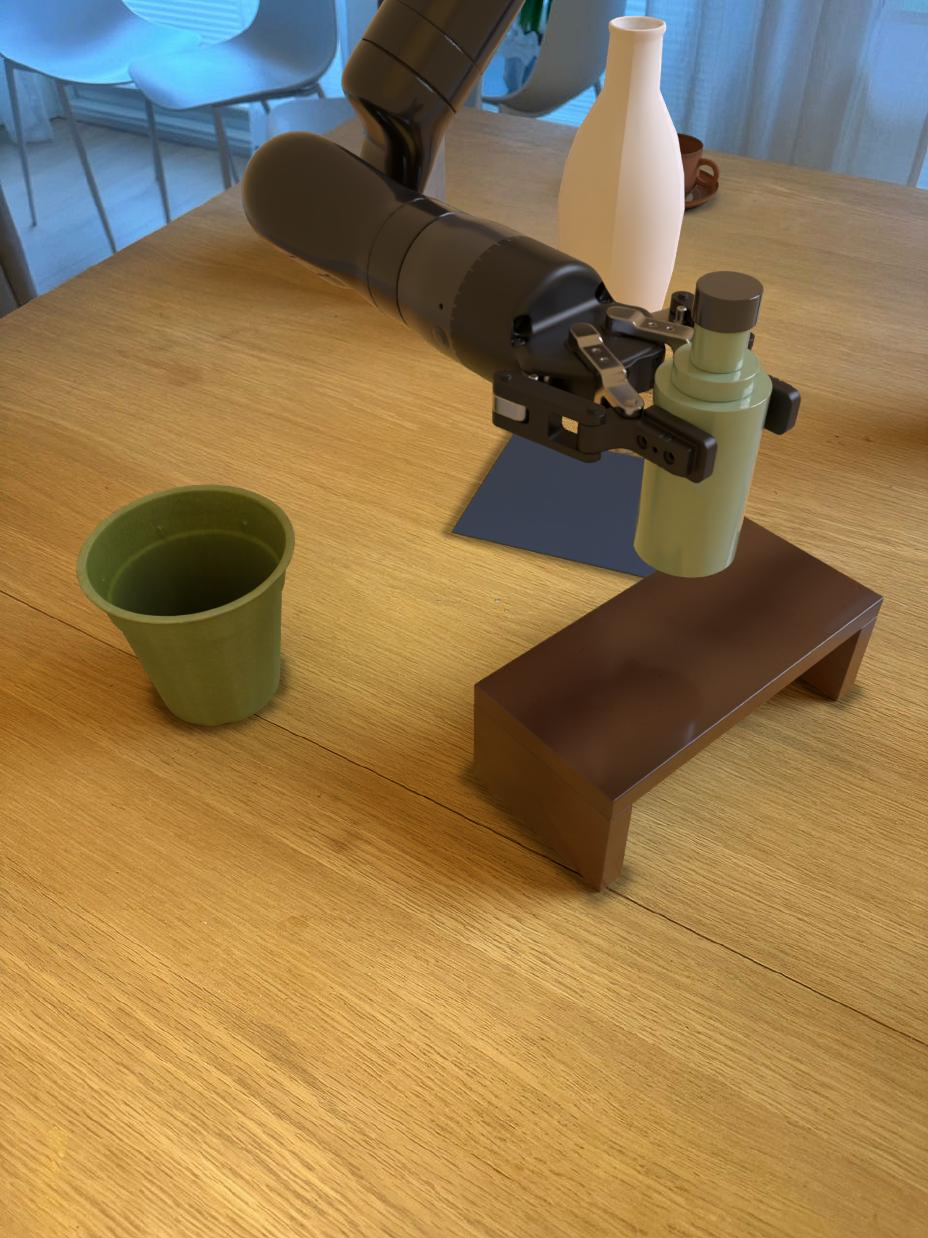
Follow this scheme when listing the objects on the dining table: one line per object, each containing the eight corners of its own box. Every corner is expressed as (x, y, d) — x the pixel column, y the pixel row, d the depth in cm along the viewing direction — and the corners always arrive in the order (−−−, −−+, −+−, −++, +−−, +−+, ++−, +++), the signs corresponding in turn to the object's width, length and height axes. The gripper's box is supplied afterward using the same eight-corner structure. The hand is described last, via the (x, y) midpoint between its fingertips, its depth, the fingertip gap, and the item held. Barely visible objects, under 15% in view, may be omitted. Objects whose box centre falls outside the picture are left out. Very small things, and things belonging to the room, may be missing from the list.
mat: (709, 476, 82) (710, 471, 81) (668, 588, 72) (669, 582, 72) (514, 436, 86) (514, 431, 86) (451, 537, 76) (451, 531, 76)
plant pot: (157, 617, 70) (118, 478, 63) (332, 628, 69) (314, 489, 62) (94, 753, 62) (39, 612, 54) (292, 769, 61) (266, 627, 53)
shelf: (473, 780, 60) (473, 684, 55) (723, 610, 70) (743, 515, 65) (599, 897, 54) (613, 802, 49) (850, 693, 65) (885, 596, 59)
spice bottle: (744, 525, 55) (801, 268, 45) (725, 588, 51) (783, 323, 42) (646, 504, 56) (682, 250, 47) (621, 563, 53) (654, 302, 43)
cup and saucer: (718, 183, 125) (727, 129, 121) (713, 223, 117) (722, 166, 112) (618, 175, 127) (623, 122, 123) (605, 214, 119) (609, 158, 114)
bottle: (586, 359, 95) (611, 49, 78) (531, 307, 102) (542, 13, 85) (691, 334, 98) (737, 31, 81) (630, 285, 106) (660, -2, 88)
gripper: (389, 278, 51) (654, 424, 41) (599, 199, 57) (868, 310, 48) (397, 412, 56) (634, 571, 46) (589, 326, 62) (830, 449, 53)
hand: (751, 437), depth 47 cm, fingers closed on spice bottle, 5 cm apart
